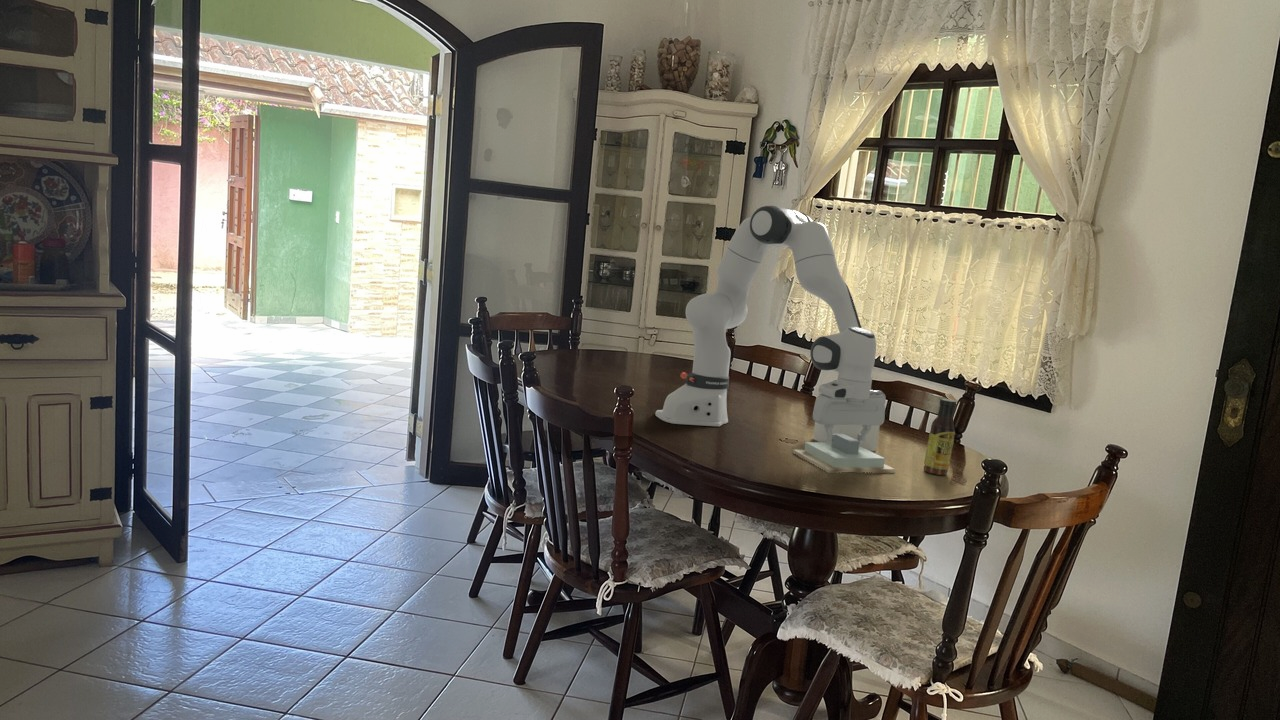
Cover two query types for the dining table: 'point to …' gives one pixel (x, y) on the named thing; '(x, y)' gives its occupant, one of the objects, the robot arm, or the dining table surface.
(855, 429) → the box
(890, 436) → the dining table surface
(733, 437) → the dining table surface
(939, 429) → the sauce bottle
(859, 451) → the lid
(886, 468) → the board
